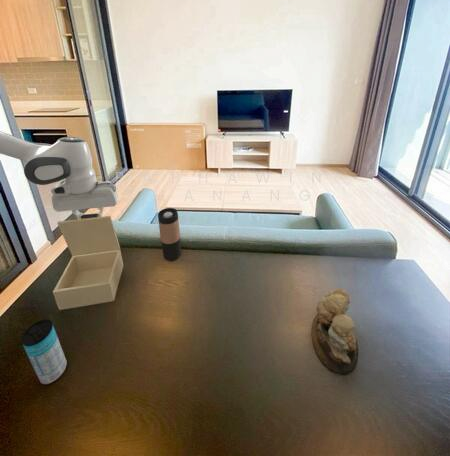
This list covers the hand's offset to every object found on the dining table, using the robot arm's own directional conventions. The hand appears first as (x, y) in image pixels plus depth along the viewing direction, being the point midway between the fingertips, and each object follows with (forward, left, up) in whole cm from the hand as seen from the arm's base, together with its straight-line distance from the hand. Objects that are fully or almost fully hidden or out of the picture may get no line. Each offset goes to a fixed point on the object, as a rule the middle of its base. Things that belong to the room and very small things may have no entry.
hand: (90, 217), depth 88 cm
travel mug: (+27, 0, -22) cm, 35 cm away
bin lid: (0, -4, -5) cm, 7 cm away
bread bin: (0, -10, -22) cm, 24 cm away
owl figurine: (+72, -43, -22) cm, 87 cm away
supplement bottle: (-2, -36, -22) cm, 42 cm away
